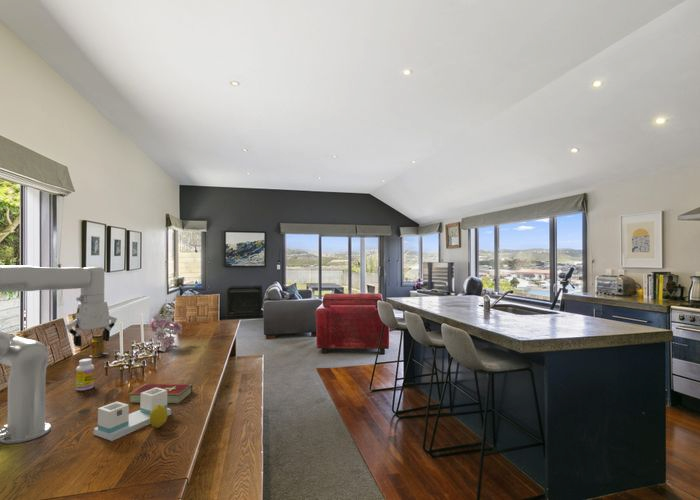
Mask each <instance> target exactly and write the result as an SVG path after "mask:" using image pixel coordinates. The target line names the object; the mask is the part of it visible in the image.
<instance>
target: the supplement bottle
mask: <svg viewBox="0 0 700 500" xmlns="http://www.w3.org/2000/svg"><path fill="white" fill-rule="evenodd" d="M92 360H93V359H92V358H83V359H80V360H79V361H78V366H77V367H76V368H75V390H76V391H81V392H82V391H87V390H90V389H93V388H94V386H95V366H94V364H93V363H92Z"/></svg>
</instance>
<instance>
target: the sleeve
mask: <svg viewBox="0 0 700 500" xmlns="http://www.w3.org/2000/svg"><path fill="white" fill-rule="evenodd" d="M129 412H130V407H129V404H127V403H124V402H120V401H115V402H112V403H111V402H110V403H109V404H106V405H103V406H101V407H98V408H97V427H98V430H101V431H104V432H107V433H111V432H114V431H116V430H118V429H121V428H123V427H125V426H128V425H129V414H130V413H129Z"/></svg>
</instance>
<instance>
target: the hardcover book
mask: <svg viewBox="0 0 700 500" xmlns="http://www.w3.org/2000/svg"><path fill="white" fill-rule="evenodd" d="M156 387H157V388H161V389H165V390H167V404H171V403H173V404H174V403H176V404H179V403H180V402H182V401H183V400H184V399H185V398H186V397H188V396H189V395H190V394H191V393H193V384H190V383H189V384H186V383H185V384H183V383H181V384H180V383H175V384H174V383H167V384H166V383H144V384H143V385H141V386H140V387H137V388H136V389H134V390H133V391H132V392H131V391H130V393H128V396H129V403H140V394H141V393H142V392H145V391H147V390H150V389H153V388H156Z"/></svg>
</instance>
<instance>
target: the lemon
mask: <svg viewBox="0 0 700 500" xmlns="http://www.w3.org/2000/svg"><path fill="white" fill-rule="evenodd" d="M167 419H168V416H167V410H166V408H165V407H164V406H161V405H158V406H156V407H154V408H153V409H152V411H151V413H150V423H151V424H150V425H152V427H155V428H157V429H160V427H162V426H163V425H164V424H165V423H166V422H167Z"/></svg>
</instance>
